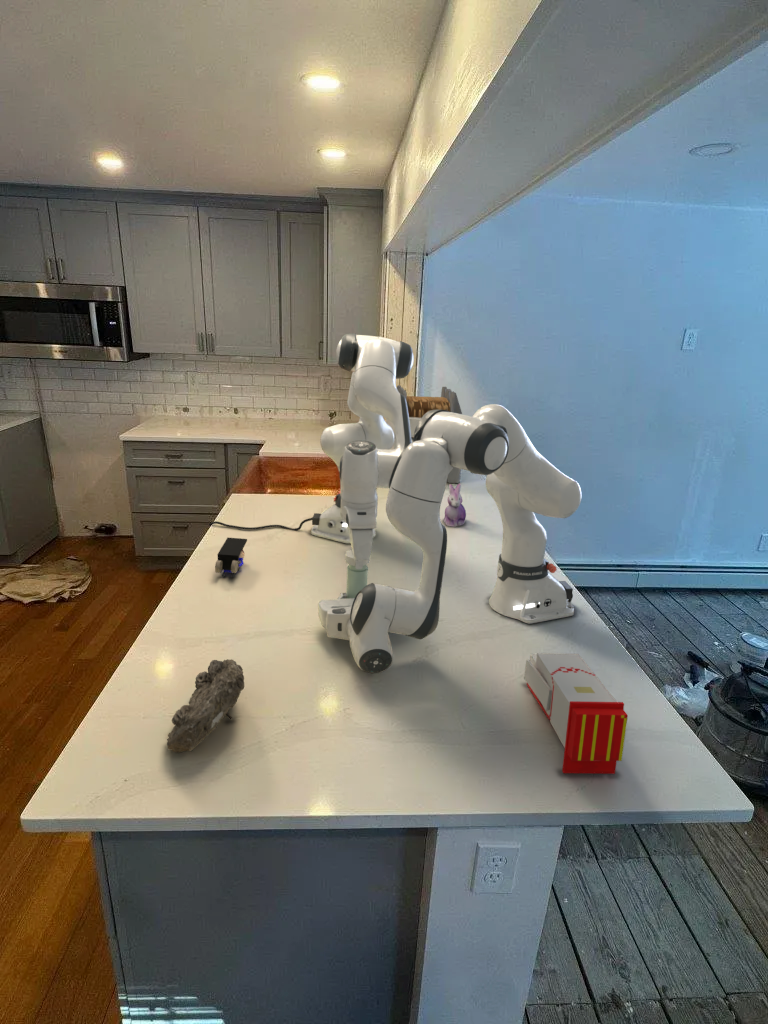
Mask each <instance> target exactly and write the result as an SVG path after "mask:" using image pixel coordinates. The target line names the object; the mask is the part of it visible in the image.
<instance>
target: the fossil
mask: <svg viewBox="0 0 768 1024" xmlns="http://www.w3.org/2000/svg"><path fill="white" fill-rule="evenodd" d="M243 670H244V669H243V667H242V665H240V664H237V662H236V661H235V660H234V659H232V658H231V659H227V658H226V659H224V660H223V661H222V660H217V659H212V660H211V661H210V663H209V665H208V666H207V671H201V672H199V673H198V674H197V675H196V676H195V680H194V684H195V685H194V687H195V689H194V690H193V693H192V694H191V697H190V698H189V700H188V704H184V705H182V706H181V707H180V709H177V710H176V711H175V713H174V715H173V716H172V718H171V723H172V724H173V727H172V730H171V731H170V732H168V734H167V738H166V741H167V742H166V745H167V749H168V750H169V751H173V752H174V753H176V754H178V753H182V752H188V751H189V752H192V751H193V750H195V748H196V747H197V746H199V744H200V743H201V742H203V741H204V740H205V739H206V738H207V737H208V736H209V735H210V734H211V733H212V732H214V730H215V729H217V727H218V726H219V724H220V722H221V721H222V720H223V719H224V718H225V716H226V717H227V719H229V720H233V717H232V715H230V714H229V710H230V709H231V708H234V706H235V704H236V703H237V702H238V699H239V697H240V695H241V693H242V691H243V690H245V689H244V688H245V675H244V671H243Z"/></svg>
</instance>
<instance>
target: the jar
mask: <svg viewBox="0 0 768 1024" xmlns="http://www.w3.org/2000/svg"><path fill="white" fill-rule="evenodd" d="M346 569H347V570H346V589H345V593H346V594H347V599H349V598H355V597H356V595H357V593H358V592H359V591H360V590H362V589H363V588H364V587H365V586H367V585H368V579H369V577H368V576H369V567H368V564H367V565H364V566H363V568H362V569H356V568H355V566H353V565H349V564H347V567H346Z"/></svg>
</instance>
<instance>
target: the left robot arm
mask: <svg viewBox="0 0 768 1024" xmlns="http://www.w3.org/2000/svg"><path fill="white" fill-rule="evenodd" d="M336 346H337V347H336V352H335V353H336V354H335V355H336V361H337V364H338V366H339V367H340V368H341V369H342V370H343V371H346V372H348V373H349V372H352V373H351V378H350V383H349V389H348V395H347V396H348V397H347V402H346V403H347V407H348V409H349V412H351V413H352V414H353V415H355V416H356V417H358V418H359V419H358V422H352V423H351V422H349V423H337V424H334V425H331V426H327V427H325V428H324V429H323V430H322V433H321V435H320V439H319V440H320V447H321V450H322V452H323V453H324V454H325V455H326V456H327V457H328V458H330V459H331V460H332V461H333V462H334V464H335V465H336V467H337V470H338V473H339V483H340V484H339V485H340V488H339V489H340V490H339V491H338V492H337V494H336V495H335V496H334V497H333V502H334V504H333V505H331V506H329V507H328V508H326V509H325V510H323V512H321V513H317V512H314V513H313V515H312V517H309V518H306V519H304V520H302V521H301V522H300V524H299V525H298V527H295V528H291V527H288V526H286V525H282V524H268V525H261V526H254V527H249V526H248V527H245V526H238V525H234V524H233V525H232V524H227V523H224V522H221V521H211V522H210V523H209V524H208V526H209V527H210V526H211V527H212V526H213V525H221V526H223V527H226V528H233V529H239V530H245V531H246V530H249V531H254V530H255V531H257V530H262V529H268V528H269V529H270V528H280V529H281V528H282V529H285V530H289V531H293V532H294V531H296V532H297V531H300V530H301V528H302V526H303V525H304V524H305V523H307V522H311V526H312V528H311V530H310V533H311V536H315V537H319V538H323V539H326V540H330V541H336V542H339V543H343V544H350V547H351V549H352V551H353V555H354V559H355V568H356V569H362V568H363V561H366V560H369V559H370V560H371V556H372V549H373V541H374V538H375V537H376V535H377V532H376V528H377V517H378V503H379V500H378V499H379V496H378V491H377V490H378V489H388V490H389V489H390V486H391V483H392V480H393V477H394V474H395V471H396V469H397V466H398V464H399V462H400V460H401V458H402V455H403V454H404V452H405V450H406V448H407V446H408V445H409V444H411V443H412V440H411V430H410V421H409V414H408V407H407V402H406V399H405V397H404V396H403V395H402V394H400V393H399V392H398V390H397V385H396V381H397V380H400V379H404V378H407V376H409V373H410V372H411V370H412V368H413V365H414V361H415V360H414V352H413V351H414V350H413V348H412V346H411V345H410V344H409V343H407V342H405V341H403V340H400V341H398V340H395V339H392V338H388V337H384V336H374V335H368V334H357V333H345V334H344V335H342V336H341V339H340V340H339V342H338V344H337V345H336ZM384 418H385V419H384ZM386 418H387V419H388V420H390V421H391V422H392V423H393V424H394V427H395V435H396V445H397V448H396V449H393V450H390V449H391V448H392V446H393V444H394V432H393V430H392V428H391V427H390V426H389V425H388V424H387V423H386Z"/></svg>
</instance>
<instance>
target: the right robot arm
mask: <svg viewBox="0 0 768 1024" xmlns="http://www.w3.org/2000/svg"><path fill="white" fill-rule="evenodd" d="M452 466H454V467H457V468H460V469H461V470H463V471H469V472H470V473H471V474H473V475H480V476H486V477H485V487H486V492H487V493H488V495H490V496H491V498H492V499H493V501H494V502H495V504H496V507H497V509H498V511H499V515H500V519H501V525H502V539H501V540H502V543H501V551H500V553H499V556H498V562H497V568H496V581H495V585H494V588H493V591H492V594H491V596H490V598H489V600H488V604H489V606H490V608H491V609H492V610H493V611H494V612H496V613H498V614H499V615H502V616H505V617H508V618H510V619H511V618H512V619H516V620H518V621H520V622H523V623H524V624H529V625H531V624H537V623H543V622H546V621H552V620H556V619H557V620H558V619H562V618H567V617H571V616H574V615H575V608H574V605H573V604H572V603H571V602H572V600H573V597H574V594H573V591H574V589H573V587H572V586H571V585H570V584H569V583H568V582H567V581H566V580H558V579H557V578H556V577H554V575H552V574H554V573H556V572H557V570H558V568H557V566H556V565H554V563H550V562H549V560H548V559H546V558H545V555H546V554H545V553H546V547H547V541H548V534H547V531H546V529H545V527H544V526H543V525H542V524H541V522H540V521H539V520H538V519H537V517H536V515H541V516H543V517H548V518H553V519H554V518H555V519H567V518H570V517H571V516H572V515H574V514H575V513H576V512H577V511H578V509H579V507H580V505H581V502H582V496H583V495H582V488H581V486H580V484H579V483H578V481H577V480H575V479H573V478H571V477H569V476H568V475H566V474H564V473H563V472H562V471H560V470H559V468H557V467H555V465H553V464H552V463H551V462H550V461H549V460H547V459H546V458H545V457H544V456H543V455H542V454H541V453H540V452H539V451H538V450H537V449H536V447H535V446H534V445H533V442H532V441H531V440H530V438H529V437H528V434H527V433H526V431H525V429H524V428H523V426H522V425H521V424H520V422H519V421H518V419H517V418H516V417H515V416H514V415H513V414H512V413H511V412H510V410H508V409H507V408H506V407H505V406H503V405H500V404H496V403H490V404H486V405H483V406H480V408H478V409H477V410H476V411H475V412H474V413H473V415H472V416H471V415H468V414H463V413H462V414H458V413H453V412H449V411H447V410H430V411H428V412H426V413H425V414H424V415H423V416H422V417H421V419H420V420H419V422H418V424H417V426H416V428H415V432H414V438H413V442H412V443H411V444H409V445H408V446H407V448H406V450H405V452H404V454H403V455H402V458H401V460H400V462H399V464H398V466H397V469H396V471H395V474H394V477H393V480H392V483H391V486H390V489H389V488H388V493H387V497H386V503H385V513H386V517H387V519H388V521H389V522H390V524H391V525H392V527H394V529H395V530H396V531H398V533H400V534H401V535H402V536H404V537H405V538H406V539H408V540H410V541H411V542H413V543H414V544H416V545H417V546H418V547H419V548H420V549H421V550H422V555H423V556H422V557H423V558H422V565H421V572H420V581H419V587H418V588H417V589H415V590H409V589H406V588H405V589H404V588H399V587H393V586H391V585H386V584H380V583H375V582H371V583H367V586H365V587H364V588H363V589H362V590H360V591H359V592H358V593H357V595H356V597H355V598H349V599H347V594H346V592H340V595H339V597H338V598H332V599H321V600H319V601H318V602H317V614H318V615H317V616H318V619H319V622H320V624H321V626H322V627H323V628H324V629H325V631H326V636H327V637H328V638H332V639H340V640H344V641H348V642H349V647H350V651H351V655H352V657H353V659H354V662H355V664H356V666H357V667H358V668H359V669H360V670H361V671H362V672H366V673H369V674H379V673H382V672H384V671H386V670H387V669H389V668H390V667H391V666H392V664H393V661H394V653H393V648H392V647H393V646H392V641H391V638H390V635H389V633H393V634H398V635H402V636H403V635H404V636H406V637H410V638H413V639H416V640H424V639H425V638H427V637H428V636H430V635H431V634H432V633H433V632H435V631H436V630H437V627H438V626H439V625H438V624H439V620H440V607H441V606H440V605H441V604H440V603H441V592H442V585H443V584H442V583H443V578H444V572H445V571H444V570H445V566H446V558H447V549H448V548H447V547H448V532H447V527H446V526H445V525H444V523H442V522H441V505H442V503H443V502H442V501H443V498H444V496H445V491H446V487H447V483H448V482H447V478H448V474H449V473H450V471H451V470H452V469H453V467H452Z"/></svg>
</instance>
